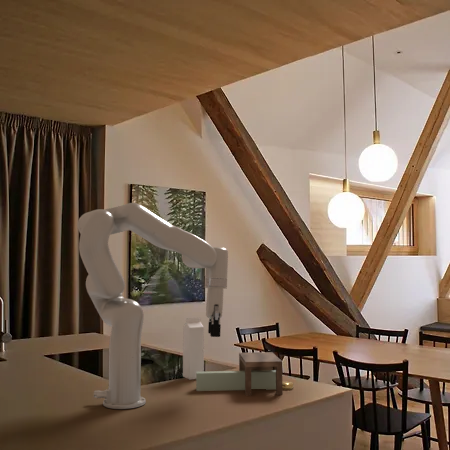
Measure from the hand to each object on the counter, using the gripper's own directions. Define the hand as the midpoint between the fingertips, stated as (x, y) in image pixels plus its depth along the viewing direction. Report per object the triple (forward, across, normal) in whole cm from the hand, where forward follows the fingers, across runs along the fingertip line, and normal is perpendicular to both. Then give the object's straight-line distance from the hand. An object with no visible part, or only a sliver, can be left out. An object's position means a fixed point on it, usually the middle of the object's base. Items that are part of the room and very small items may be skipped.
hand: (214, 335), depth 177 cm
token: (+18, -2, +26) cm, 31 cm away
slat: (+18, -3, +9) cm, 21 cm away
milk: (+18, -23, -5) cm, 30 cm away
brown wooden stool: (+18, -2, +17) cm, 24 cm away
